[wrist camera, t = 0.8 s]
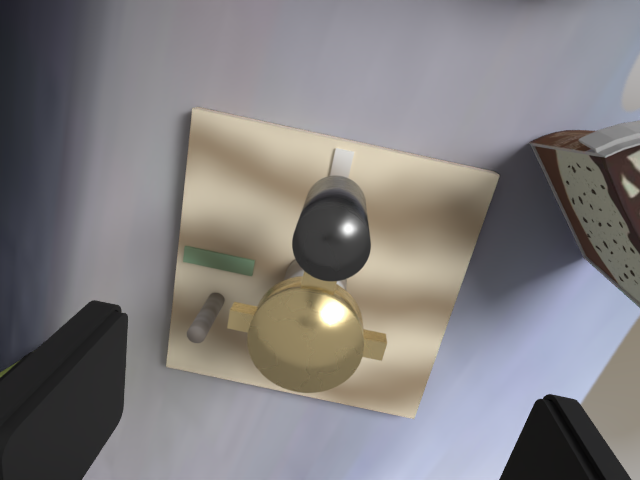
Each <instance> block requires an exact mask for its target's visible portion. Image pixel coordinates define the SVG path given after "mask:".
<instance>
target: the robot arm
mask: <svg viewBox="0 0 640 480" xmlns="http://www.w3.org/2000/svg"><path fill="white" fill-rule="evenodd" d="M127 329H128V316H127V314H126V313H121V308H120V306H119V305H115V304H110V303H105V302H100V301H95V300H94V301H91V302H89V303H88V304H87V305H86V306H85V307H84V308H82V309H81V310H80V311H79V312H78V313H77V314H76V315H75V316H73V317H72V318H71V319H70V320H69V321H68V322H67V323H66V324H64V325H63V326H62V327H61V328H60V329H59V330H58V331H57V332H56V333H54V334H53V335H52V336H51V337H50V338H49V339H48V340H47V341H45V342H44V343H43V344H42V345H41V346H40V347H39V348H38V349H36V350H35V351H34V352H30V353H29V354H27V355H26V356H24V357H23V358H22V359H21V360H20V361H19V362H17V363H16V364H15V365H14V366H13V367H12V368H11V369H9V370H8V371H7V372H6V373H5V374H4V375H3V376H2V377H0V480H82V479H83V477H84V475H85V474H86V472H87V471H88V469H89V468H90V466H91V465H92V463H93V462H94V460H95V459H96V457H97V456H98V454H99V453H100V451H101V450H102V448H103V446H104V445H105V443H106V442H107V440H108V439H109V437H110V436H111V434H112V433H113V431H114V430H115V428H116V427H117V425H118V423H119V421H120V419H121V416H122V413H123V407H124V387H125V368H126V348H127ZM499 480H631V478H630V477H629V475H628V474H627V472H626V471H625V469H624V468H623V466H622V465H621V463H620V462H619V461H618V459H617V458H616V456H615V455H614V453H613V452H612V450H611V449H610V447H609V446H608V444H607V443H606V441H605V440H604V439H603V437H602V436H601V434H600V433H599V431H598V430H597V428H596V427H595V425H594V424H593V422H592V421H591V420H590V418H589V417H588V415H587V414H586V412H585V411H584V409H583V408H582V406H581V405H580V403H579V402H578V401H577V400H574V399H571V398H566V397H561V396H556V395H552V394H548V395H546V396H545V397H544V398H543V399H538V400H537V401H536V402H535V404H534V406H533V408H532V410H531V412H530V414H529V416H528V419H527V421H526V423H525V425H524V427H523V429H522V432H521V434H520V436H519V438H518V440H517V442H516V445H515V447H514V449H513V451H512V453H511V455H510V458H509V460H508V462H507V464H506V466H505V469H504V471H503V473H502V475H501V477H500V479H499Z"/></svg>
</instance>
